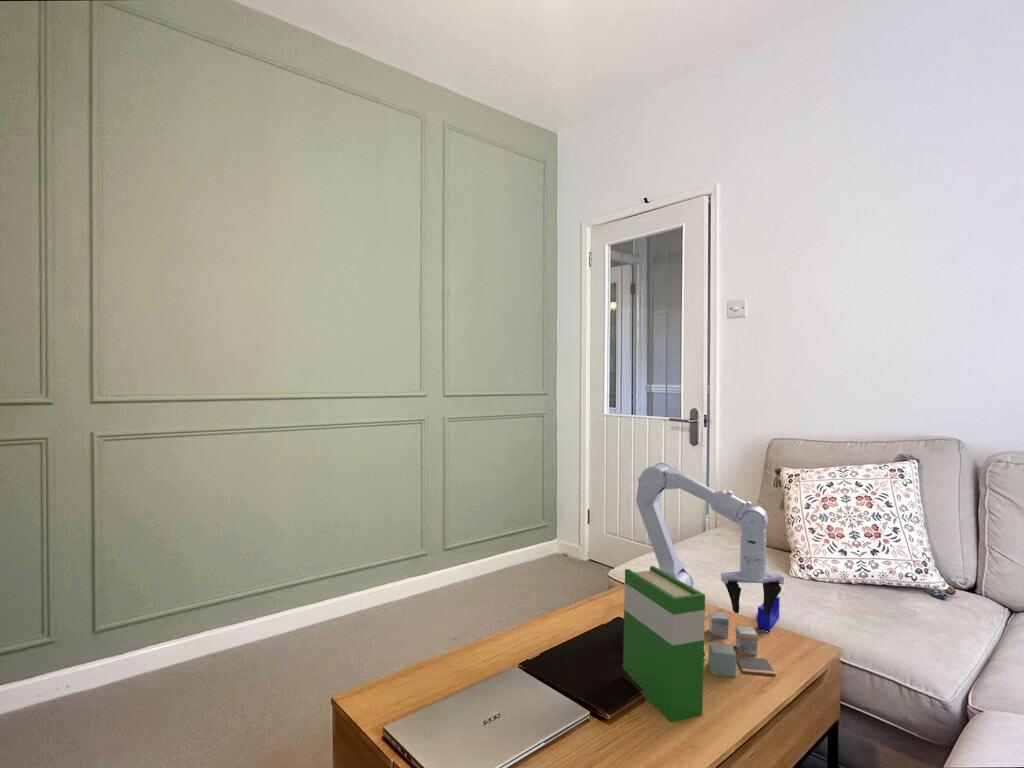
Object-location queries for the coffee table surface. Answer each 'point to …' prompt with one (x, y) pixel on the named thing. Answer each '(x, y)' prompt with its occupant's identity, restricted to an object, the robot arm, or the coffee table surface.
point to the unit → (722, 659)
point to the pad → (755, 666)
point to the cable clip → (768, 616)
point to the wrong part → (718, 624)
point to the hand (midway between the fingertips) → (751, 612)
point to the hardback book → (665, 641)
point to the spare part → (746, 640)
